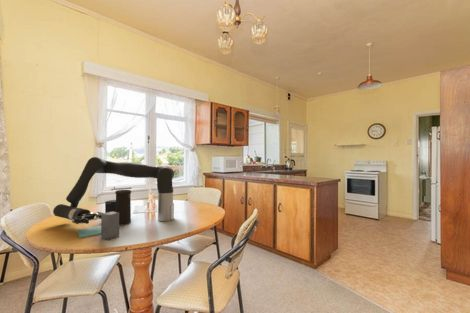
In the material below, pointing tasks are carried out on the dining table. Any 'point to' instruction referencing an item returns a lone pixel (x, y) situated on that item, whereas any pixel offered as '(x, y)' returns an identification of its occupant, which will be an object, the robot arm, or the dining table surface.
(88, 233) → the teal board
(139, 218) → the dining table surface
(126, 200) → the container
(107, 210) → the small box
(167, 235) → the dining table surface
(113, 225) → the gray rectangular block
